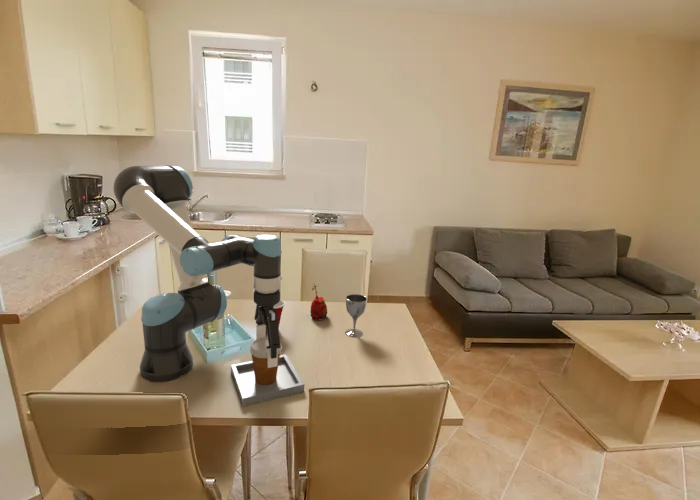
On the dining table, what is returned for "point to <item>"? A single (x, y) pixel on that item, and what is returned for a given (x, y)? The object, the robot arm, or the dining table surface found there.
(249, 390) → the tray
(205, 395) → the dining table surface
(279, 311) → the plastic cup
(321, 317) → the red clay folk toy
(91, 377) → the dining table surface
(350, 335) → the wine glass
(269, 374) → the disposable coffee cup
